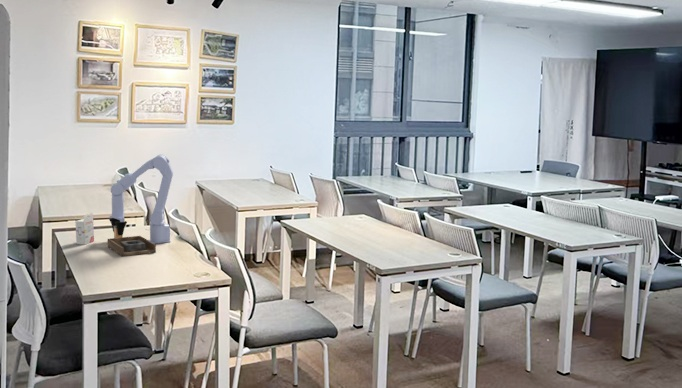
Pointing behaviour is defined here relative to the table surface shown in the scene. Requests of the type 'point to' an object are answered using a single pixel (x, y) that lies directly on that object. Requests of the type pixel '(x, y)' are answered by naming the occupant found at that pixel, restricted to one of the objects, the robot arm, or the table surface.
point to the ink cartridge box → (85, 230)
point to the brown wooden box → (131, 246)
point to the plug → (116, 233)
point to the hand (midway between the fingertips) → (118, 233)
